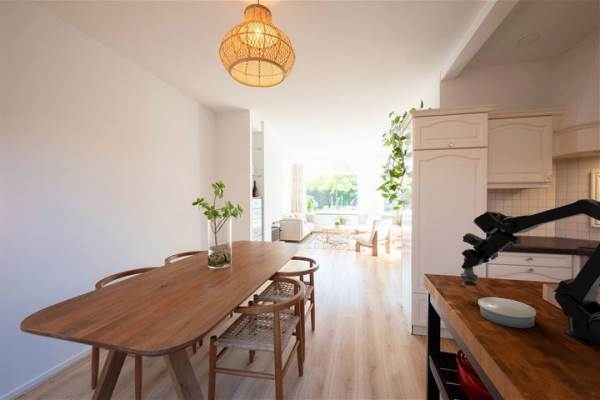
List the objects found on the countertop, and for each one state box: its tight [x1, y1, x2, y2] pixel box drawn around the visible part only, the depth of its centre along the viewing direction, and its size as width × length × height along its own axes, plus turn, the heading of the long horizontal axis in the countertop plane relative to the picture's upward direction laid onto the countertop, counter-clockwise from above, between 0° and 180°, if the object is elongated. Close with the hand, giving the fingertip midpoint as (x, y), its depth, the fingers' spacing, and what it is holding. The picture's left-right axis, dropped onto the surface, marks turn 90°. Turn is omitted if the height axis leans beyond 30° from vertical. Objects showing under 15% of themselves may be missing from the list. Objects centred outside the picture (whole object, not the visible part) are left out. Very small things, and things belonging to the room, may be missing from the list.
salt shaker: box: [459, 256, 479, 287], centre depth 97 cm, size 6×6×12 cm
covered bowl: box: [477, 296, 537, 329], centre depth 82 cm, size 15×15×4 cm
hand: (464, 267), depth 98 cm, fingers closed on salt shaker, 4 cm apart
